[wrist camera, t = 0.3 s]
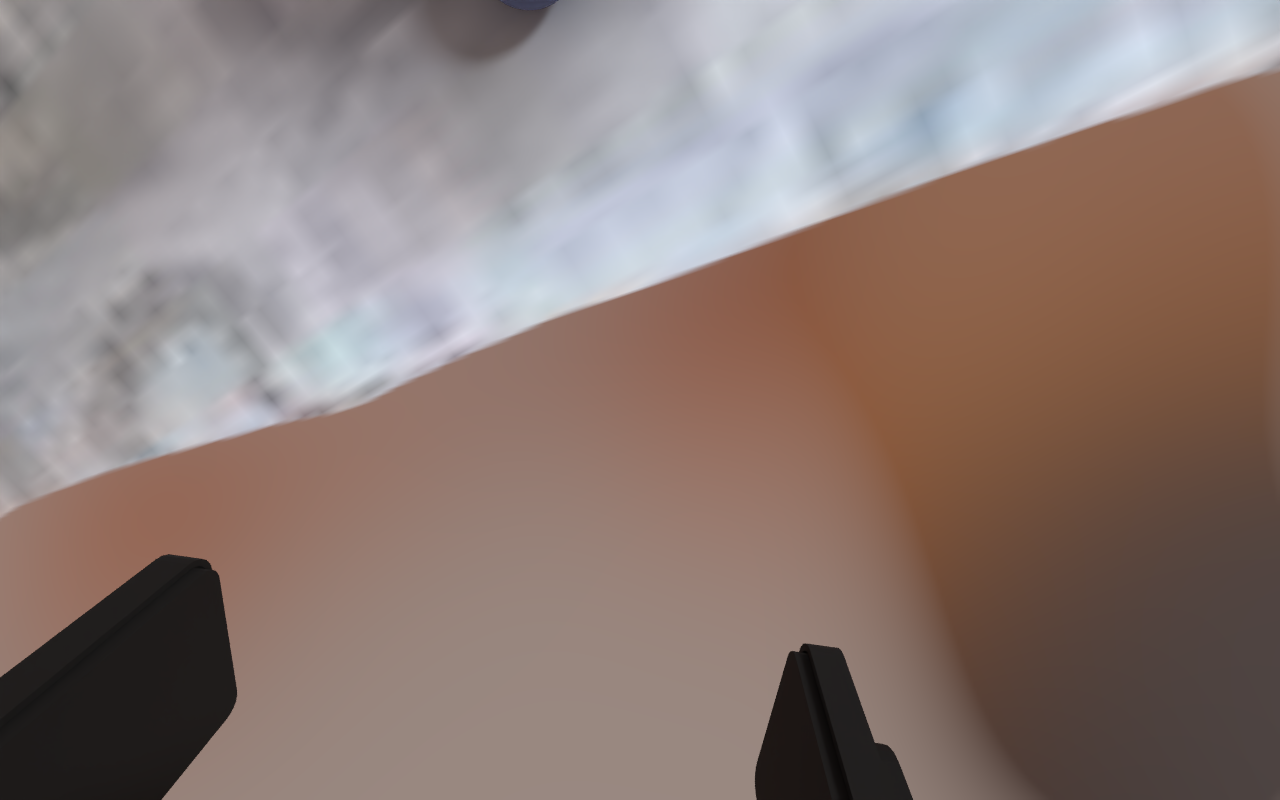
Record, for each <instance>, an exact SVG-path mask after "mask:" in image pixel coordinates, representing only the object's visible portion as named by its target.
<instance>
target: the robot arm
mask: <svg viewBox="0 0 1280 800" xmlns="http://www.w3.org/2000/svg"><path fill="white" fill-rule="evenodd" d="M236 697H237V687H236V682H235V675H234V668H233V662H232V656H231V650H230V643H229V637H228V630H227V624H226V618H225V611H224V604H223V598H222V591H221V585H220V579H219V575H218V573H217V572H216V571H214V570H212V568H211V565H210V563H209V562H208V561H207V560H204V559H199V558H191V557H184V556H176V555H170V554H168V555H163V556H161V557H159V558H158V559H156V560H155V561H153V562H152V563H151V564H149V565H148V566H147V567H145V568H144V569H143V570H141V571H140V572H139V573H137V574H136V575H135V576H134V577H132V578H131V579H130V580H128V581H127V582H126V583H124V584H123V585H122V586H121V587H119V588H118V589H116V590H115V591H114V592H112V593H111V594H110V595H109V596H107V597H106V598H104V599H103V600H102V601H101V602H99V603H98V604H97V605H95V606H94V607H93V608H92V609H90V610H89V611H87V612H86V613H85V614H83V615H82V616H81V617H79V618H78V619H77V620H75V621H74V622H73V623H72V624H70V625H69V626H68V627H66V628H65V629H64V630H62V631H61V632H60V633H58V634H57V635H56V636H54V637H53V638H52V639H50V640H49V641H48V642H46V643H45V644H44V645H42V646H41V647H40V648H39V649H37V650H36V651H35V652H33V653H32V654H31V655H29V656H28V657H27V658H25V659H24V660H23V661H21V662H20V663H19V664H17V665H16V666H15V667H13V668H12V669H11V670H10V671H8V672H7V673H6V674H4V675H3V676H2V677H0V800H162V798H163V797H164V796H165V795H166V793H167V792H168V791H169V789H170V788H171V787H172V786H173V785H174V783H175V782H176V781H177V780H178V779H179V777H180V776H181V775H182V774H183V772H184V771H185V770H186V769H187V767H188V766H189V765H190V764H191V762H192V761H193V760H194V759H195V757H196V756H197V755H198V754H199V753H200V751H201V750H202V749H203V748H204V746H205V745H206V744H207V743H208V741H209V740H210V739H211V738H212V736H213V735H214V734H215V733H216V731H217V730H218V729H219V728H220V726H221V725H222V724H223V723H224V721H225V720H226V719H227V718H228V716H229V715H230V713H231V711H232V709H233V708H234V705H235V702H236ZM755 789H756V798H757V800H913V798H912V796H911V793H910V790H909V788H908V785H907V783H906V780H905V777H904V775H903V772H902V769H901V767H900V764H899V762H898V760H897V758H896V756H895V754H894V752H893V751H892V750H891V748H890V747H889V746H887V745H884V744H879V743H875V742H874V739H873V737H872V734H871V731H870V728H869V725H868V723H867V720H866V717H865V714H864V711H863V708H862V706H861V703H860V700H859V697H858V694H857V691H856V689H855V686H854V683H853V680H852V677H851V675H850V672H849V669H848V666H847V663H846V660H845V658H844V655H843V653H842V651H841V650H840V649H839V648H834V647H827V646H820V645H812V644H803V645H802V646H801V648H800V651H799V652H795V651H791V652H790V653H789V655H788V658H787V661H786V665H785V668H784V671H783V675H782V678H781V682H780V685H779V689H778V692H777V695H776V699H775V702H774V706H773V709H772V713H771V716H770V720H769V723H768V727H767V730H766V734H765V737H764V740H763V744H762V748H761V751H760V754H759V758H758V761H757V766H756V772H755Z"/></svg>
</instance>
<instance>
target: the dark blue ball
mask: <svg viewBox="0 0 1280 800" xmlns="http://www.w3.org/2000/svg"><path fill="white" fill-rule="evenodd" d="M500 1H501V2H503V3H504V4H506V5H509V6H511V7H514V8H517V9H522V10H537V9H542V8H545V7H548V6H550V5H552V4H554V3H555V2H556V1H558V0H500Z"/></svg>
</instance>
